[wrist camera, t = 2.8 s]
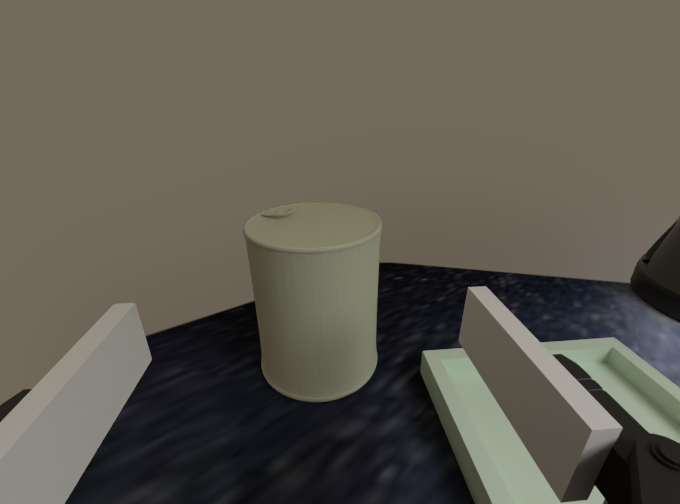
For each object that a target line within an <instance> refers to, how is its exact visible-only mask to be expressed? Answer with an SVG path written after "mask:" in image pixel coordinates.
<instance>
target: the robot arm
mask: <svg viewBox="0 0 680 504" xmlns="http://www.w3.org/2000/svg"><path fill="white" fill-rule="evenodd" d="M631 286H632V287H633V289H634V290H635V292H636V293H637V294H638V295H639V296H640V297H642V298H643V299H644V300H645V301H647V302H648V303H650V304H651V305H653V306H654V307H656V308H657V309H659V310H661V311H663V312H664V313H666V314H668V315H670V316H672V317H674V318H676V319H678V320H680V217H679V218H678V219H677V220H676V222H675V223H674V224H673V225H672V226H671V227H670V228H669V229H668V230H667V231H666V232H665V233H664V234H663V235H662V236H661V237H660V238H659V239H658V240H657V242H656V243H655V244H654V245H653V246H652V247H651V248H650V249H649V250H648V252H647V253H646V254H645V255H643V256H642V257H641V259H640V260H639V261H638V262H637V265H636V267H635V270H634V272H633V275H632V277H631ZM459 343H460V344H461V346H462V347H463V349H464V351H465V352H466V354H467V355H468V357H469V359H470V360H471V362H472V363H473V365H474V366H475V368H476V370H477V371H478V373H479V374H480V376H481V377H482V379H483V381H484V382H485V384H486V385H487V387H488V389H489V390H490V392H491V393H492V395H493V396H494V398H495V400H496V401H497V403H498V404H499V406H500V408H501V409H502V411H503V412H504V414H505V415H506V417H507V419H508V420H509V422H510V423H511V425H512V427H513V428H514V430H515V431H516V433H517V434H518V436H519V438H520V439H521V441H522V442H523V444H524V446H525V447H526V449H527V450H528V452H529V453H530V455H531V457H532V458H533V460H534V461H535V463H536V465H537V466H538V468H539V469H540V471H541V472H542V474H543V476H544V477H545V479H546V480H547V482H548V483H549V485H550V487H551V488H552V490H553V491H554V493H555V495H556V496H557V498H558V499H559V501H560V502H561V503H562V502H572V501H581V500H588V498H589V496H590V494H591V492H592V490H593V488H594V486H596V487H597V489H598V490H599V491H600V493H601V494H602V495H603V497H604V498H605V500H604V502H603V504H680V443H678V442H676V441H674V440H672V439H670V438H668V437H665V436H661V435H658V434H651V433H649V432H648V431H646V430H645V429H644V428H643V427H642V426H641V425H640V424H639V423H638V422H637V421H636V420H635V419H634V418H633V417H632V416H631V415H630V414H629V413H628V412H627V411H626V410H625V409H624V408H623V407H622V406H621V405H620V404H619V403H618V402H617V401H615V400H614V399H613V398H612V397H611V396H610V395H609V394H608V393H607V392H606V391H603V389H602V387H601V386H600V385H599V384H598V383H597V382H596V381H595V380H592V378H591V376H590V375H589V374H588V373H587V372H586V371H585V370H583V369H582V368H581V367H580V366H579V365H578V364H577V363H575V362H573V361H572V360H570V359H569V358H567V357H565V356H564V355H562V354H551V353H550V352H549V351H548V350H547V349H546V348H545V347H544V346H543V345H542V344H541V343H540V342H539V341H538V340H537V339H536V338H535V337H534V336H533V334H532V333H531V332H530V331H529V330H528V329H527V328H526V327H525V326H524V325H523V324H522V323H521V322H520V321H519V320H518V319H517V318H516V317H515V316H514V315H513V314H512V313H511V312H510V311H509V310H508V309H507V308H506V307H505V306H504V305H503V304H502V302H501V301H500V300H499V299H498V298H497V297H496V296H495V295H494V294H493V293H492V292H491V291H490V290H489V289H488V288H487V287H486V286H483V287H468V290H467V296H466V301H465V307H464V313H463V318H462V324H461V330H460V335H459ZM151 360H152V358H151V354H150V351H149V348H148V344H147V341H146V337H145V334H144V331H143V327H142V324H141V320H140V317H139V313H138V310H137V307H136V303H118V304H114V305H113V306H112V307H111V308H110V309H109V310H108V311H107V312H106V313H105V314H104V315H103V316H102V317H101V318H100V319H99V320H98V321H97V322H96V323H95V324H94V326H92V327H91V328H90V329H89V330H88V332H87V333H86V334H85V335H84V336H83V337H82V338H81V339H80V340H79V341H78V342H77V343H76V344H75V345H74V346H73V347H72V348H71V349H70V351H68V352H67V354H66V355H65V356H64V357H63V358H62V359H61V360H60V361H59V362H58V363H57V364H56V365H55V366H54V367H53V368H52V369H51V370H50V371H49V372H48V373H47V374H46V375H45V376H44V377H43V378H42V380H41V381H39V383H38V384H37V385H36V386H35V387H34V388H33V389H27V390H23V391H21V392H20V393H18V394H17V395H15V396H14V397H12V398H11V399H9V400H8V401H6V402H5V403H3V404H2V405H1V406H0V504H65V502H66V500H67V499H68V497H69V495H70V494H71V492H72V490H73V489H74V487H75V486H76V484H77V482H78V481H79V479H80V477H81V476H82V474H83V472H84V471H85V469H86V467H87V466H88V464H89V462H90V461H91V459H92V457H93V456H94V454H95V453H96V451H97V449H98V448H99V446H100V444H101V443H102V441H103V439H104V438H105V436H106V434H107V433H108V431H109V429H110V428H111V426H112V424H113V423H114V421H115V420H116V418H117V416H118V415H119V413H120V411H121V410H122V408H123V406H124V405H125V403H126V401H127V400H128V398H129V396H130V395H131V393H132V391H133V390H134V388H135V386H136V385H137V383H138V382H139V380H140V378H141V377H142V375H143V373H144V372H145V370H146V368H147V367H148V365H149V363H150V362H151Z"/></svg>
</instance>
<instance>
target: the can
mask: <svg viewBox="0 0 680 504" xmlns="http://www.w3.org/2000/svg"><path fill="white" fill-rule="evenodd" d="M381 230H382V221H381V219H380V218H379V216H378V215H376V214H375V213H373V212H372V211H369V210H367V209H365V208H362V207H358V206H354V205H349V204H342V203H330V202H309V203H297V204H289V205H284V206H279V207H275V208H272V209H268V210H265V211H262V212H260V213H258V214H256V215H254V216H252V217H251V218H249V219H248V220H247V221H246V223H245V224H244V227H243V233H244V236H245V240H246V245H247V251H248V258H249V263H250V271H251V277H252V284H253V291H254V298H255V305H256V312H257V320H258V327H259V334H260V343H261V352H262V358H261V367H262V372H263V375H264V377H265V379H266V380H267V382H268V383H269V384H270V385H271V386H272V387H273V388H274V389H275V390H276V391H278V392H279V393H281V394H283V395H285V396H287V397H289V398H292V399H295V400H299V401H305V402H326V401H332V400H336V399H340V398H343V397H345V396H347V395H350V394H352V393H354V392H355V391H357V390H358V389H360V388H361V387H362V386H363V385H364V384H366V382H367V381H368V380H369V379H370V378H371V376H372V374H373V373H374V371H375V368H376V365H377V350H376V319H377V295H378V273H379V252H380V237H381Z"/></svg>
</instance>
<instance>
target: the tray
mask: <svg viewBox="0 0 680 504" xmlns="http://www.w3.org/2000/svg"><path fill="white" fill-rule="evenodd" d="M541 344H542V345H543V346H544V347H545V348H546V349H547V350H548V351H549V352H550V353H551V354H562V355H564V356H565V357H567V358H569V359H570V360H572V361H573V362H575V363H577V364H578V365H579V366H580V367H581V368H582V369H583V370H585V371H586V372H587V373H588V374H589V375H590V376H591V378H592V380H595V381H596V382H597V383H598V384H599V385H600V386H601V387H602V389H603V391H606V392H607V393H608V394H609V395H610V396H611V397H612V398H613V399H614V400H615V401H617V402H618V403H619V404H620V405H621V406H622V407H623V408H624V409H625V410H626V411H627V412H628V413H629V414H630V415H631V416H632V417H633V418H634V419H635V420H636V421H637V422H638V423H639V424H640V425H641V426H642V427H643V428H644V429H645V430H646V431H648V432H649V433H651V434H658V435H661V436H665V437H668V438H670V439H672V440H674V441H676V442H678V443H680V388H679V387H678V386H676V385H675V384H674V383H672V382H671V381H670V380H669V379H667V378H666V377H665V376H663V375H662V374H661V373H660V372H658V371H657V370H656V369H654V368H653V367H652V366H651V365H649V364H648V363H647V362H645V361H644V360H643V359H642V358H640V357H639V356H638V355H636V354H635V353H634V352H632V351H631V350H630V349H629V348H627V347H626V346H625V345H623V344H622V343H621V342H620V341H618V340H617V339H616V338H614V337H612V338H598V339H584V340H570V341H556V342H542V343H541ZM420 373H421V375H422V377H423V380H424V382H425V385H426V387H427V390H428V392H429V394H430V397H431V399H432V402H433V404H434V406H435V409H436V411H437V414H438V416H439V419H440V421H441V423H442V426H443V428H444V431H445V433H446V436H447V438H448V440H449V443H450V445H451V448H452V450H453V452H454V455H455V457H456V460H457V462H458V465H459V467H460V469H461V472H462V474H463V477H464V479H465V481H466V484H467V486H468V489H469V491H470V494H471V496H472V498H473V501H474V503H475V504H603V502H604V500H605V498H604V497H603V495H602V494H601V493H600V491H599V490H598V489H597V487H596V486H594V488H593V490H592V492H591V494H590V496H589V498H588V500H581V501H572V502H562V503H561V502H560V501H559V499H558V498H557V496H556V495H555V493H554V491H553V490H552V488H551V487H550V485H549V483H548V482H547V480H546V479H545V477H544V476H543V474H542V472H541V471H540V469H539V468H538V466H537V465H536V463H535V461H534V460H533V458H532V457H531V455H530V453H529V452H528V450H527V449H526V447H525V446H524V444H523V442H522V441H521V439H520V438H519V436H518V434H517V433H516V431H515V430H514V428H513V427H512V425H511V423H510V422H509V420H508V419H507V417H506V415H505V414H504V412H503V411H502V409H501V408H500V406H499V404H498V403H497V401H496V400H495V398H494V396H493V395H492V393H491V392H490V390H489V389H488V387H487V385H486V384H485V382H484V381H483V379H482V377H481V376H480V374H479V373H478V371H477V370H476V368H475V366H474V365H473V363H472V362H471V360H470V359H469V357H468V355H467V354H466V352H465V351H464V349H463V348H457V349H443V350H429V351H422V360H421V369H420Z"/></svg>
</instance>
